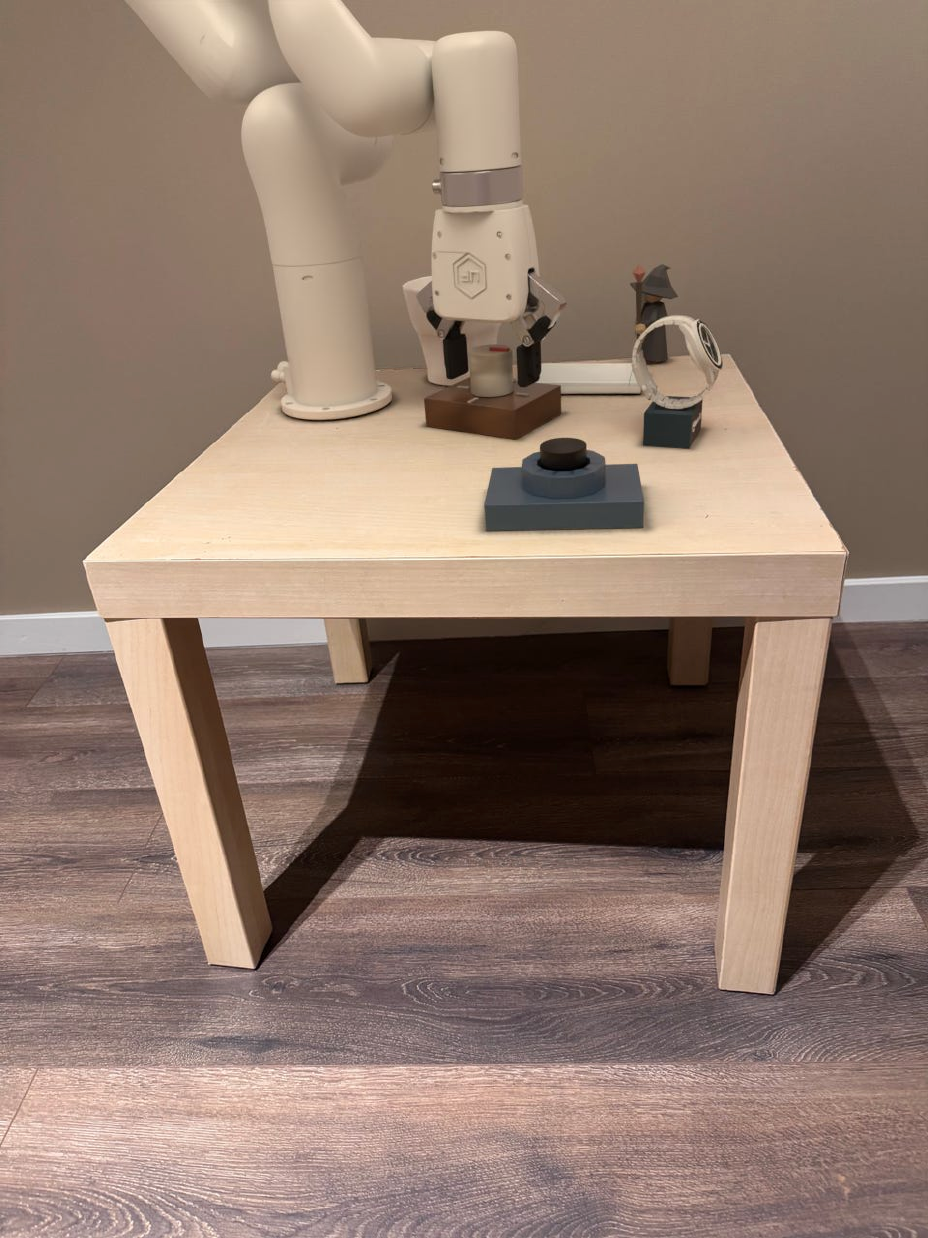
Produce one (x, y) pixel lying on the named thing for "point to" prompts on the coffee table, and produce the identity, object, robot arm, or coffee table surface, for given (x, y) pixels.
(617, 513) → the button box
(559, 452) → the button
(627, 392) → the hard drive
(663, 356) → the wizard figurine
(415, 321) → the cup
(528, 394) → the brown wooden block
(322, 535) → the coffee table surface
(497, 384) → the knob
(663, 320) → the watch
